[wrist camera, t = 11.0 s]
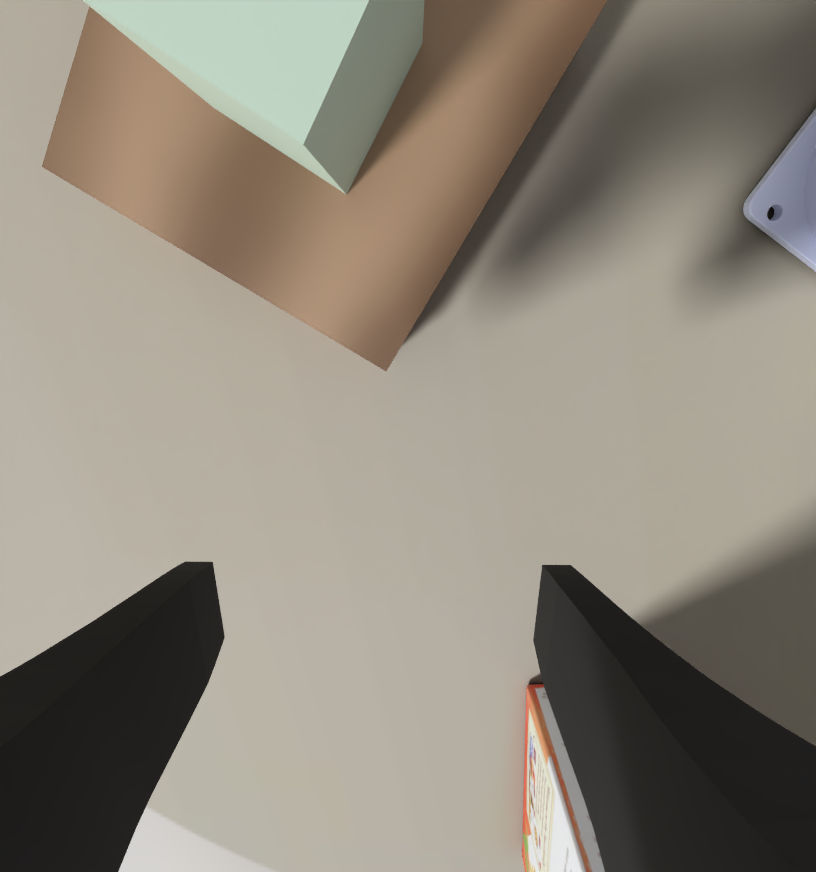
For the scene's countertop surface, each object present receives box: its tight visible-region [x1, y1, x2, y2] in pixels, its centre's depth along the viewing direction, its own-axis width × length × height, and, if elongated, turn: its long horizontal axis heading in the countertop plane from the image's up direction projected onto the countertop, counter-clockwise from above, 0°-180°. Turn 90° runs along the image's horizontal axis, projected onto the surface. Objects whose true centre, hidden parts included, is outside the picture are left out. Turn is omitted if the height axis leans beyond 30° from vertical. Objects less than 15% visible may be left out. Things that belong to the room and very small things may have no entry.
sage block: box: [83, 0, 424, 195], centre depth 10 cm, size 4×4×6 cm
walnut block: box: [42, 0, 607, 371], centre depth 15 cm, size 12×12×3 cm
